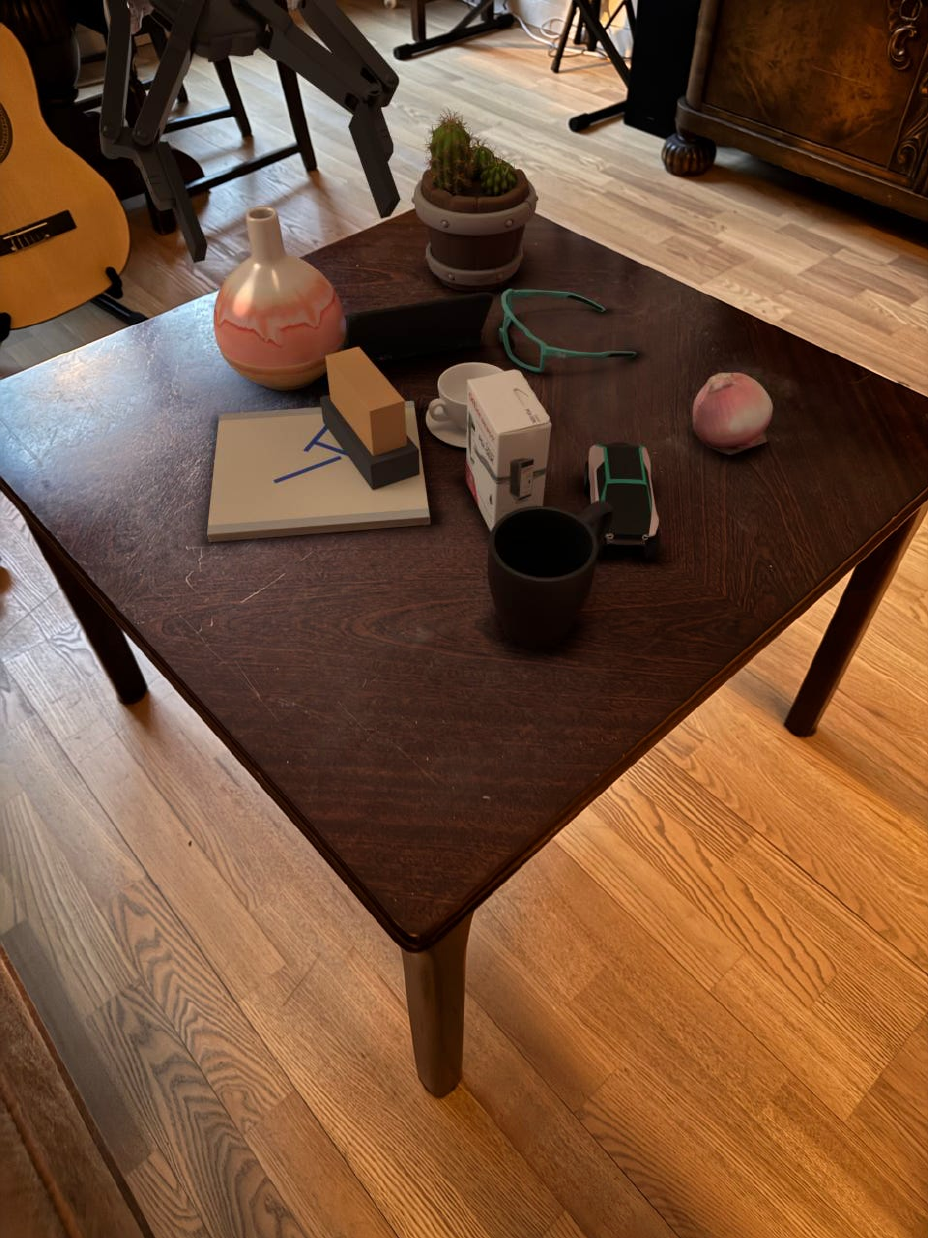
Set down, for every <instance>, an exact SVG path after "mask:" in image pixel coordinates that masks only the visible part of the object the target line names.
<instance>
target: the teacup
mask: <svg viewBox="0 0 928 1238" xmlns="http://www.w3.org/2000/svg"><path fill="white" fill-rule="evenodd" d="M504 371H505V370H503V369H502V368H500V367H499V366H495V365H493V364H489V363H484V362H476V361H475V362H474V361H473V362H463V363H458V364H456V365H453V366H451V367H449V368H447V369H445V370H444V371H443V372H442V373H441V374H440V375H439V377H438V380H437V390H438V396H439V398H435V399H433V400H432V401H430V402H429V404H428V409H427V411H426V414H425V423H426V426H427V428H428V430H429V431H430V433H431V434H432V435H433V436H435V438H437V439H438V440H440V441H442V442H444V443H446V444H448V445H451V446H454V447H459V448H466V449H467V380H468V379H471V378H475V377H479V376H484V375H489V374H493V373H499V372H504Z"/></svg>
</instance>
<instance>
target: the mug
mask: <svg viewBox="0 0 928 1238" xmlns="http://www.w3.org/2000/svg"><path fill="white" fill-rule="evenodd" d="M612 518H613V509H612V506H611V505H610V504H609V503H608V502H606V501H604V500H598V501H595V502H594V503H592V504H591V503H590V504H589V505H587V506H586V507H585V508H583V509H582V510H581V511H580V512H578V513H577V514H575V513H573V512H571V511H569V510H566V509H563V508H560V507H555V506H549V505H543V506H531V507H524V508H521V509H517V510H514V511H512V512H510V513H508V514H506V515H505V516H503V517H502V518H501V519H500V520H498V521H497V523H496V524H495V525H494V527H493V528H492V530H491V531H490V533H489V536H488V548H487V550H488V551H487V580H488V586H489V587H488V588H489V591H490V595H491V600H492V603H493V606H494V610H495V613H496V615H497V618H498V620H499V623H500V625H501V629H502V632H503V633H504V635H505V637H506V638H507V639H508V640H509V641H510V642H511V643H513V644H514V645H516V646H518V647H520V648H523V649H526V650H531V651H541V650H548V649H551V648H554V647H555V646H557V645H559V644H560V643H561V642H563V640H564V639H565V638H566V636H567V635H568V633H569V631H570V629H571V628H572V626H573V625H574V623H575V622H576V620H577V619H578V617H579V615H580V613H581V612H582V610H583V608H584V606H585V603H586V601H587V599H588V597H589V594H590V591H591V588H592V584H593V581H594V576H595V571H596V567H597V566H596V565H597V561H598V557H597V554H598V551H599V549H600V547H601V545H602V543H603V541H604V539H605V538H606V534H607V532H608V530H609V527H610V525H611V522H612ZM591 525H593V527H592V528H591Z"/></svg>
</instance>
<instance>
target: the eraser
mask: <svg viewBox="0 0 928 1238" xmlns="http://www.w3.org/2000/svg"><path fill="white" fill-rule="evenodd" d="M325 357H326V365H327V372H326V373H327V381H328V388H329V389H328V390H329V394H327V395H324V396H320V397H319V401H320V407H321V410H322V418H323V423H324V424H325V425H326V427H327V428H328V430H329V431H330V432H331V434H332V435H333V436H334V438H335V439H336V441H337V442H338V443H339V445H340V446H341V447H342V449H343V450H344V452H345V453H346V454H347V456H348V457H349V458H350V460H351V461H352V463H353V464H354V465H355V467H356V468H357V469H358V471H359V472H360V474H361V475H362V476H363V478H364V479H365V480H366V482H367V483H368V485H369V486H370V487H371V489H372V490H375V489H378V488H381V487H384V486H387V485H390V484H393V483H395V482H398V481H401V480H404V479H407V478H410V477H413V476H416V475H419V474H420V468H419V449H418V448H417V447H416V445H415V444H414V443H413V442H412V440H411V439H410V438H409V437H408V436H407V434H406V416H405V401H406V400H405V399H404V398H403V397H402V395H401V394H400V393H399V392H398V391H397V389H396V388H395V387H394V386H393V385H392V384H391V382H389V380H388V378H387V377H386V376H385V375H384V374H383V372H381V371H380V370H379V368H378V367H377V366H376V365H375V363H372V361H371V360H370V359H369V358H368V357H367V356H366V354H365V353H364V352H363V351H362V350H361V349H360V347H355V348H352V349H348V350H342V351H341V352H337V353H334V354H330V355H326V356H325Z"/></svg>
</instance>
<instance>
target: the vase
mask: <svg viewBox="0 0 928 1238" xmlns="http://www.w3.org/2000/svg"><path fill="white" fill-rule="evenodd" d="M245 222H246V228H247V229H246V230H247V235H248V241H249V247H250V248H249V249H250V253H251V255H250V256H249V257H248V258H246V259H244V261H243V262H241V263H240V264H238V265H237V266H236V268H234V269H233V270H232V271H231V272H230V273H229V275H228V276H227V277H226V279H224V281H223V283H222V285H221V287H220V288H219V291H218V293H217V295H216V299H215V302H214V307H213V314H212V315H213V316H212V319H213V320H212V321H213V323H212V324H213V334H214V338H215V341H216V344H217V347H218V349H219V352H220V354H221V355H222V357H223V358H224V360H225V361H226V363H227V364H228V365H229V366H230V367H231V368H232V369H233V370H234V371H235V372H236V373H237V374H239V375H240V376H241V377H243V378H245V379H246V380H248V381H250V382H252V383H253V384H254V383H255V384H257V385H260V386H262V387H265V388H266V389H270V390H273V391H280V392H281V391H282V392H287V391H289V392H290V391H296V390H300V389H303V388H306V387H308V386H310V385H312V384H313V383H315V382H316V381H317V380H319V379H320V377H322V376H324V375H325V374H326V373H327V365H326V357H325V356H326V355H330V354H334V353H337V352H341V351H344V350H343V347H344V344H345V340H346V319H345V315H346V314H345V309H344V306H343V303H342V301H341V299H340V296H339V294H338V293H337V291H336V289H335V288H334V286H333V284H332V283H331V282H330V281H329V280H328V278H327V277H326V276H325V275H324V274H323V273H322V272H321V271H320V270H319V269H317V268H316V267H315V266H313V265H312V264H310V263H308V262H307V261H305V260H303V259H302V258H299V257H297V256H295V255H293V254H290V253H289V252H286V249H285V245H284V238H283V234H282V228H281V223H280V217H279V212H278V211H277V210H276V209H275V208H273V207H271V206H256V207H253V208H251V209H249V210H247V211H246V213H245Z"/></svg>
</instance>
